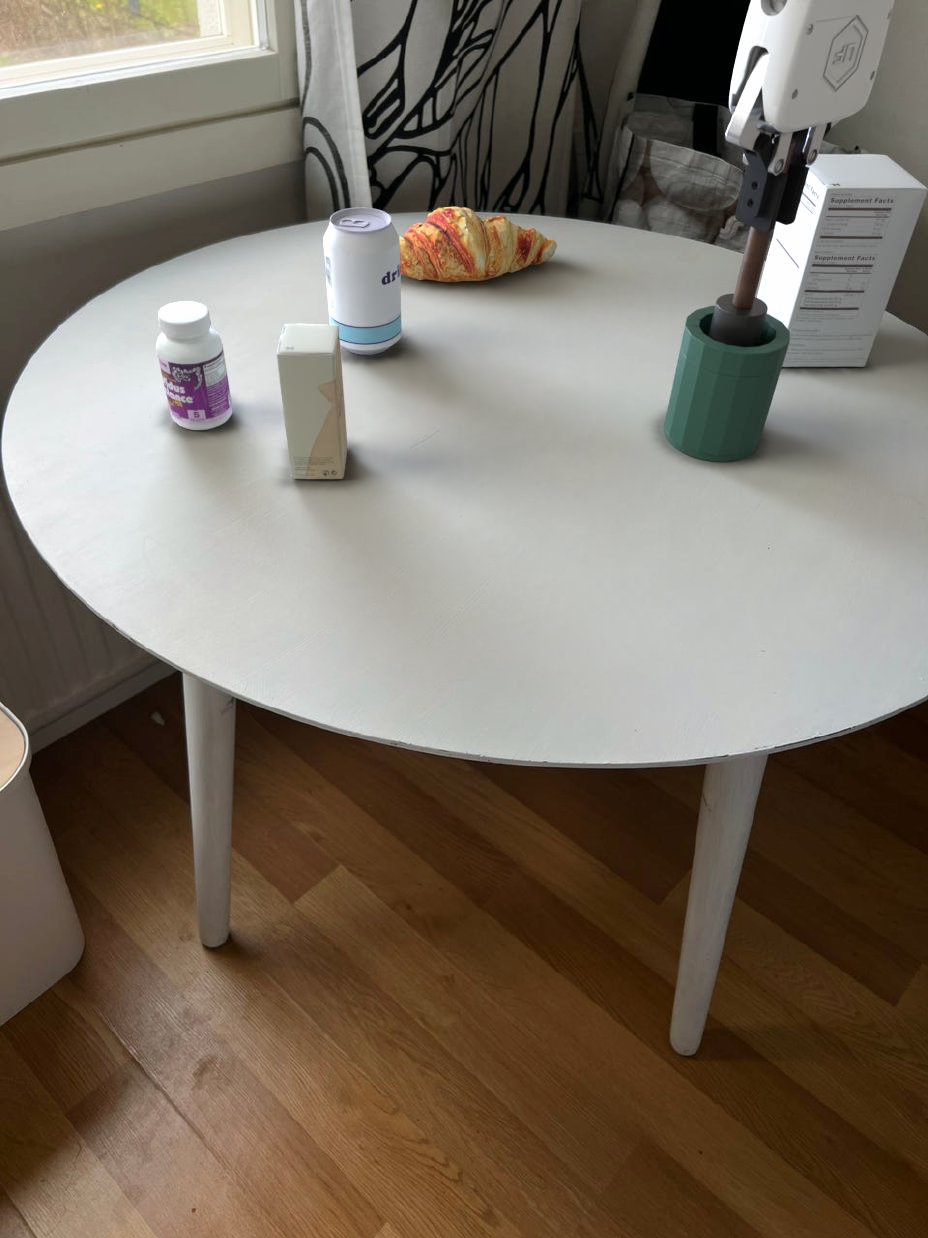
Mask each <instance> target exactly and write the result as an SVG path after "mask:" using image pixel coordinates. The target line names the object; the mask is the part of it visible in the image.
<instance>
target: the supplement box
mask: <svg viewBox="0 0 928 1238" xmlns="http://www.w3.org/2000/svg"><path fill="white" fill-rule="evenodd" d="M806 167H809V172H808V175H807V179H806V182H805V186H804V190H803V193H802V197H801V200H800V204H799V208H798V211H797V215H796V218H795V221H794V222H793V223H792V224H789V225H784V224H781V223H779V222H777V221H776V222H775V226H774V229H773V235H772V238H771V242H770V245H769V247H768V248H769V249H768V251H767V255H766V258H765V262H764V266H763V270H762V274H761V275H762V276H761V278H760V282H759V283H760V285H759V287H758V292H757V295H756V298H759V299H760V300H762V301H763V302H765V303H766V305H767V307H768V310H767V314H769V315H771V316H773V317H774V318H776V319H778V320H779V321H781V322H782V323H783V324H784V325H785V326H786V328H787V329H788V330H789V332H790V342H789V345H788V349H787V352H786V355H785V359H784V362H783V365H782V368H813V367H814V368H828V367H829V368H837V367H838V368H841V367H843V368H844V367H846V368H847V367H851V368H854V367H855V368H856V367H857V368H858V367H859V368H862V367H863V368H864V367H866V365H867V362H868V359H869V356H870V353H871V350H872V348H873V345H874V342H875V340H876V337H877V334H878V332H879V328H880V325H881V324H882V319H883V318H884V314H885V311H886V309H887V306H888V303H889V300H890V297H891V296H892V295H891V294H892V291H893V289H894V286H895V283H896V280H897V277H898V275H899V273H900V269H901V267H902V264H903V261H904V259H905V255H906V253H907V250H908V247H909V244H910V242H911V238H912V236H913V233H914V230H915V228H916V226H917V225H916V224H917V222H918V219H919V216H920V214H921V211H922V208H923V205H924V202H925V200H926V198H927V197H926V196H927V194H928V187H927V186H925V185H924V184H923V183H921V182H920V181H919V180H918V179H917V178H916V177H914V176H913V175H912V174H910V173H909V172H908V171H907V170H906V169H904V167H902V166H901V165H900V164H898V163H897V162H896V161H895V160H893V159H892V158H891V157H889V156H888V155H887V154H878V153H860V154H859V153H857V154H855V153H851V154H849V153H848V154H844V153H843V154H841V153H837V154H836V153H818V156H817V159H816V161H815V162H814V163H813V164H812V165H810V166H808V165H806Z"/></svg>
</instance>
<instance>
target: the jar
mask: <svg viewBox="0 0 928 1238" xmlns="http://www.w3.org/2000/svg"><path fill="white" fill-rule="evenodd" d="M714 309H715V305H709V306H706V307H702V308H698V309H695V310H694V311H693V312H691V313H690V314H689V315H688V316H686V319H685V324H684V329H683V333H682V339H681V343H680V348H679V353H678V358H677V364H676V368H675V372H674V376H673V381H672V387H671V391H670V396H669V400H668V405H667V410H666V415H665V419H664V424H663V434H664V436H665V439H666V440H667V441H668V443H669V444H670V445H671V446H672V447H674V448H675V449H677V450H678V451H680V452H681V453H683V454H685V455H687V456H690V457H693V458H696V459H699V460H704V461H709V462H719V463H721V462H724V463H725V462H735V461H739V460H743V459H745V458H747V457H749V456H751V455H752V454H753V453H755V451H756V450H757V448H758V446H759V443H760V442H761V438H762V435H763V432H764V428H765V425H766V423H767V419H768V416H769V412H770V409H771V406H772V401H773V398H774V395H775V392H776V388H777V386H778V382H779V378H780V375H781V371H782V369H783V367H782V365H783V362H784V359H785V355H786V352H787V349H788V345H789V342H790V332H789V330H788V329H787V328H786V326H785V325H784V324H783V323H782V322H781V321H779V320H778V319H776V318H774V317H773V316H771V315H769V314H766V318H765V321H764V325H763V328H762V332H761V336H760V339H759V343H758V347H739V346H732V345H726V344H724V343H721V342H718V341H715V340H713V339H711V338H710V337H708V335H709V331H710V326H711V322H712V318H713V314H714Z"/></svg>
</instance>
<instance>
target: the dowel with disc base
mask: <svg viewBox="0 0 928 1238" xmlns="http://www.w3.org/2000/svg"><path fill="white" fill-rule="evenodd" d="M774 138H775V136H774V137H773V138H771V139H772V142H774ZM794 146H795V140H793V139H791V142H790V146H789V150H788V154H787V158H786V163H785V166H784V169H783V170H782V172H783V173H786V174H787V173H788V169H789V165H790V161H791V157H792V154H793V150H794ZM772 233H773V230H771V231H769V232H762V231H760V230H758V229H755V228H753V227H751V226H749V232H748V235H747V239H746V243H745V247H744V252H743V256H742V260H741V265H740V268H739V272H738V276H737V281H736V284H735V288H734V292H733V293H725V294H722V295H720V296H719V297H718V298H717V299H716V301H715V304H714V306H715V309H714V314H713V318H712V322H711V326H710V331H709V335H708V337H710V338H711V339H713V340H715V341H718V342H721V343H724V344H726V345H732V346H739V347H758V343H759V339H760V336H761V332H762V328H763V325H764V321H765V318H766V314H767V310H768V307H767V305H766V303H765V302H763V301H762V300H760V299H759V298H757V296H756V294H757V290H758V288H759V287H758V286H759V283H760V280H761V275H762V273H763V269H764V265H765V261H766V257H767V254H768V250H769V249H768V248H769V246H770V245H769V244H770V240H771V237H772Z"/></svg>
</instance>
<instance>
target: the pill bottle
mask: <svg viewBox="0 0 928 1238" xmlns="http://www.w3.org/2000/svg"><path fill="white" fill-rule="evenodd" d="M157 318H158V325H159V329H160V330H161V333H160V334H159V336H157V339H156V343H155V349H156V354H157V359H158V364H159V367H160V373H161V378H162V382H163V387H164V391H165V395H166V399H167V405H168V408H169V412H170V417H171V419H172V421H173V422H174V423H175V424H176V425H179V427H182V428H184V429H188V430H192V431H205V430H206V431H207V430H211V429H214V428H215V429H216V428H217V427H220V426H221V425H223V424H225V423H226V422H227V421H229V420H230V418H231V416H232V415H233V411H234V408H233V401H232V395H231V388H230V381H229V375H228V370H227V364H226V356H225V351H224V345H223V339H222V338H221V336H220V334H219V333H218V332H217V331H216V330H215V329H213V328H212V327H211V326H212V321H211V316H210V311H209V309H208V307H207V306H206V305H205V304H202V303H201V302H197V301H191V300H180V301H174V302H170V303H168V304H165V305H164V306H161V307H160V309H159V310H158V312H157Z"/></svg>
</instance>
